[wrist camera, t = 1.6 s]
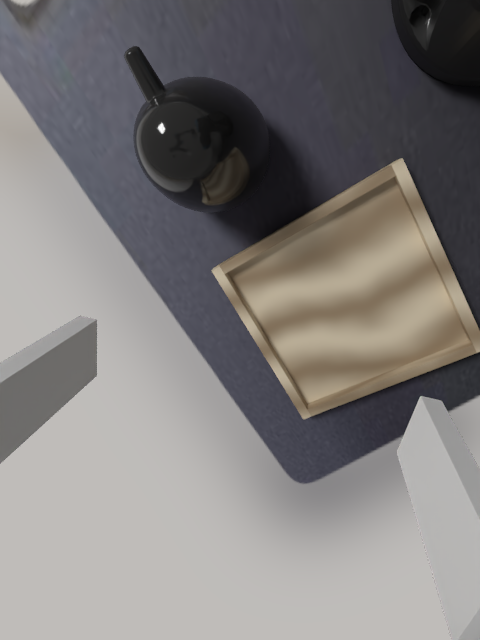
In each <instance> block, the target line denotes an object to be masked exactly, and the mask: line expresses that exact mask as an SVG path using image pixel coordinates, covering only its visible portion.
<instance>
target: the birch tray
mask: <svg viewBox="0 0 480 640" xmlns="http://www.w3.org/2000/svg"><path fill="white" fill-rule="evenodd" d="M211 271H212V272H213V274H214V275H215V277H216V279H217V280H218V282H219V284H220V285H221V287H222V288H223V290H224V292H225V293H226V295H227V297H228V298H229V300H230V301H231V303H232V305H233V306H234V308H235V309H236V311H237V313H238V314H239V316H240V318H241V319H242V321H243V322H244V324H245V326H246V327H247V329H248V331H249V332H250V334H251V335H252V337H253V339H254V340H255V342H256V343H257V345H258V347H259V348H260V350H261V352H262V353H263V355H264V356H265V358H266V360H267V361H268V363H269V364H270V366H271V368H272V369H273V371H274V373H275V374H276V376H277V377H278V379H279V381H280V382H281V384H282V386H283V387H284V389H285V390H286V392H287V394H288V395H289V397H290V398H291V400H292V402H293V403H294V405H295V407H296V408H297V410H298V411H299V413H300V415H301V416H302V418H303V419H306V418H309V417H311V416H314V415H316V414H319V413H322V412H324V411H327V410H329V409H332V408H335V407H337V406H340V405H343V404H345V403H348V402H350V401H353V400H356V399H358V398H361V397H363V396H366V395H369V394H371V393H374V392H376V391H379V390H382V389H384V388H387V387H389V386H392V385H395V384H397V383H400V382H403V381H405V380H408V379H410V378H413V377H416V376H418V375H421V374H423V373H426V372H429V371H431V370H434V369H436V368H439V367H442V366H444V365H447V364H450V363H452V362H455V361H457V360H460V359H463V358H465V357H468V356H470V355H473V354H476V353H478V352H480V330H479V328H478V326H477V324H476V321H475V319H474V317H473V315H472V312H471V310H470V308H469V306H468V303H467V301H466V299H465V297H464V295H463V292H462V290H461V288H460V286H459V283H458V281H457V279H456V277H455V274H454V272H453V270H452V268H451V265H450V263H449V261H448V259H447V256H446V254H445V252H444V250H443V247H442V245H441V243H440V241H439V238H438V236H437V234H436V232H435V229H434V227H433V225H432V223H431V220H430V218H429V216H428V214H427V211H426V209H425V207H424V205H423V202H422V200H421V198H420V196H419V194H418V191H417V189H416V187H415V185H414V182H413V180H412V178H411V176H410V173H409V171H408V169H407V167H406V164H405V162H404V160H403V158H402V159H398V160H396V161H394V162H393V163H391V164H389V165H387V166H386V167H384V168H382V169H381V170H379V171H377V172H376V173H374V174H372V175H370V176H369V177H367V178H365V179H364V180H362V181H360V182H359V183H357V184H355V185H353V186H352V187H350V188H348V189H347V190H345V191H343V192H342V193H340V194H338V195H336V196H335V197H333V198H331V199H330V200H328V201H326V202H324V203H323V204H321V205H319V206H318V207H316V208H314V209H313V210H311V211H309V212H307V213H306V214H304V215H302V216H301V217H299V218H297V219H296V220H294V221H292V222H290V223H289V224H287V225H285V226H284V227H282V228H280V229H279V230H277V231H275V232H273V233H272V234H270V235H268V236H267V237H265V238H263V239H262V240H260V241H258V242H256V243H255V244H253V245H251V246H250V247H248V248H246V249H245V250H243V251H241V252H239V253H238V254H236V255H234V256H233V257H231V258H229V259H228V260H226V261H224V262H222V263H221V264H219V265H217V266H216V267H215V268H214V269H213V270H211Z"/></svg>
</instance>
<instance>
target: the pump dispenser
mask: <svg viewBox="0 0 480 640" xmlns="http://www.w3.org/2000/svg"><path fill="white" fill-rule="evenodd" d="M124 58H125V60H126V62H127V64H128V66H129V68H130V70H131V72H132V74H133V76H134V78H135V80H136V82H137V84H138V86H139V88H140V90H141V92H142V94H143V96H144V98H145V100H146V102H145V103H144V104H143V106H142V107H141V109H140V111H139V113H138V115H137V118H136V121H135V125H134V134H133V140H134V148H135V153H136V156H137V159H138V162H139V164H140V166H141V168H142V170H143V172H144V174H145V175H146V177H147V178H148V179H149V181H150V182H151V183H152V184H153V185H154V186H155V187H156V188H157V189H158V190H159V191H160V192H161V193H162V194H163V195H165V196H166V197H167V198H169V199H170V200H172V201H173V202H175V203H177V204H178V205H180V206H183V207H185V208H188V209H191V210H194V211H199V212H205V213H217V212H224V211H227V210H230V209H233V208H235V207H237V206H239V205H241V204H242V203H244V202H245V201H247V200H248V199H249V198H250V197H251V196H252V195H253V194H254V193H255V192H256V190H257V189H258V188H259V186H260V185H261V183H262V181H263V179H264V177H265V175H266V172H267V169H268V165H269V160H270V137H269V132H268V128H267V125H266V123H265V120H264V118H263V116H262V114H261V112H260V111H259V109H258V108H257V106H256V105H255V104H254V102H253V101H252V100H251V99H250V98H249V97H248V96H247V95H246V94H244V93H243V92H242V91H240V90H239V89H237V88H236V87H234V86H232V85H230V84H227V83H225V82H222V81H219V80H216V79H212V78H207V77H187V78H181V79H178V80H174V81H172V82H169V83H167V84H165V85H163V84H162V82H161V81H160V79H159V78H158V76H157V74H156V73H155V71H154V70H153V68H152V66H151V65H150V63H149V62H148V60H147V59H146V57H145V55H144V54H143V52H142V51H141V49H140V48H139V47H137V46H133V47H131V48H129V49H128V50H127V51H126V52H125V55H124Z"/></svg>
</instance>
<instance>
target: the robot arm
mask: <svg viewBox="0 0 480 640" xmlns="http://www.w3.org/2000/svg"><path fill="white" fill-rule="evenodd" d="M391 1H392V12H393V18H394V22H395V26H396V30H397V33H398V35H399V38H400V40H401V42H402V44H403V46H404V48H405V50H406V51H407V53H408V54H409V56H410V57H411V58H412V60H413V61H414V62H415V63H416V64H417V65H418V66H419V67H420V68H421V69H423V70H424V71H425V72H427V73H428V74H430V75H431V76H433V77H435V78H437V79H439V80H441V81H444V82H447V83H450V84H454V85H460V86H480V0H391ZM96 375H97V320H96V319H92V318H87V317H83V316H79V317H77V318H75V319H73V320H72V321H70V322H68V323H67V324H65V325H63V326H62V327H60V328H58V329H57V330H55V331H53V332H52V333H50V334H48V335H46V336H45V337H43V338H41V339H40V340H38V341H36V342H35V343H33V344H32V345H30V346H28V347H26V348H24V349H23V350H21V351H20V352H18V353H16V354H14V355H13V356H11V357H9V358H8V359H6V360H4V361H3V362H1V363H0V463H1V462H2V461H4V460H5V459H6V458H7V457H8V456H9V455H10V454H11V453H12V452H14V451H15V450H16V449H17V448H18V447H19V446H20V445H21V444H22V443H23V442H25V441H26V440H27V439H28V438H29V437H30V436H31V435H32V434H33V433H34V432H35V431H37V430H38V429H39V428H40V427H41V426H42V425H43V424H44V423H45V422H46V421H48V420H49V419H50V418H51V417H52V416H53V415H54V414H55V413H56V412H57V411H58V410H60V409H61V408H62V407H63V406H64V405H65V404H66V403H67V402H68V401H69V400H70V399H72V398H73V397H74V396H75V395H76V394H77V393H78V392H79V391H80V390H82V389H83V388H84V387H85V386H86V385H87V384H88V383H89V382H90V381H91V380H93V379H94V378H95V377H96ZM397 455H398V459H399V462H400V465H401V469H402V472H403V476H404V479H405V482H406V486H407V489H408V493H409V496H410V500H411V503H412V507H413V510H414V513H415V517H416V520H417V523H418V527H419V530H420V534H421V537H422V541H423V544H424V547H425V551H426V554H427V558H428V561H429V564H430V568H431V571H432V575H433V578H434V582H435V585H436V588H437V592H438V595H439V598H440V602H441V605H442V609H443V612H444V616H445V619H446V622H447V626H448V629H449V633H450V636H451V639H452V640H480V469H479V467H478V465H477V463H476V461H475V459H474V458H473V456H472V454H471V452H470V451H469V449H468V447H467V445H466V443H465V442H464V440H463V438H462V436H461V435H460V433H459V431H458V429H457V427H456V426H455V424H454V422H453V420H452V418H451V417H450V415H449V413H448V411H447V409H446V408H445V406H444V404H443V402H442V401H440V400H436V399H432V398H428V397H423V396H420V398H419V400H418V403H417V405H416V408H415V410H414V412H413V415H412V417H411V419H410V422H409V424H408V426H407V429H406V431H405V433H404V436H403V438H402V440H401V443H400V445H399V447H398V450H397Z"/></svg>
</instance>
